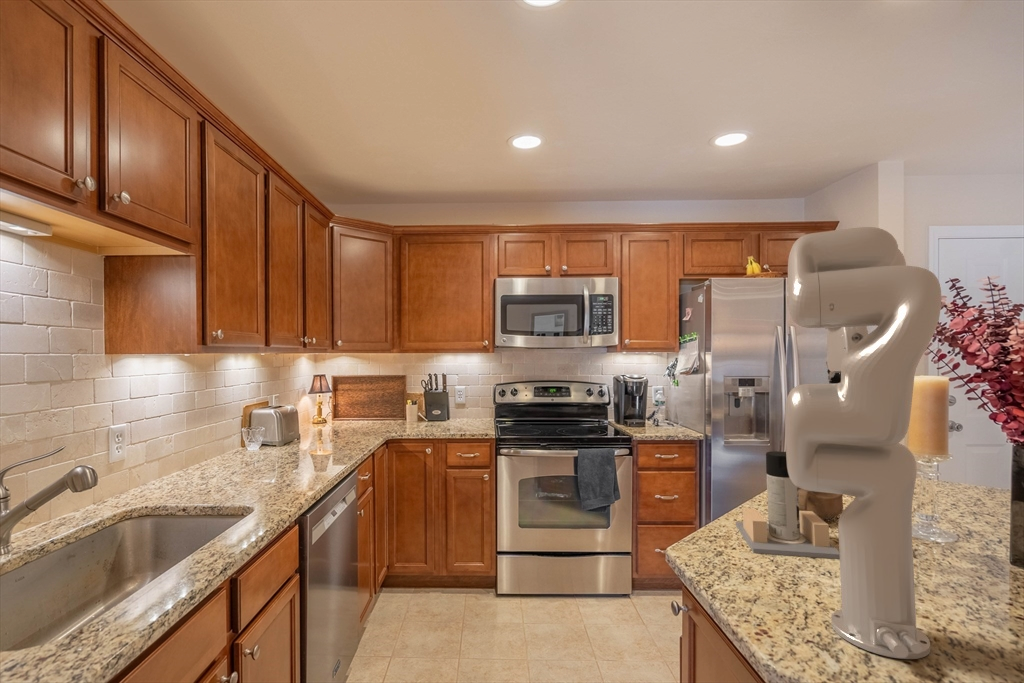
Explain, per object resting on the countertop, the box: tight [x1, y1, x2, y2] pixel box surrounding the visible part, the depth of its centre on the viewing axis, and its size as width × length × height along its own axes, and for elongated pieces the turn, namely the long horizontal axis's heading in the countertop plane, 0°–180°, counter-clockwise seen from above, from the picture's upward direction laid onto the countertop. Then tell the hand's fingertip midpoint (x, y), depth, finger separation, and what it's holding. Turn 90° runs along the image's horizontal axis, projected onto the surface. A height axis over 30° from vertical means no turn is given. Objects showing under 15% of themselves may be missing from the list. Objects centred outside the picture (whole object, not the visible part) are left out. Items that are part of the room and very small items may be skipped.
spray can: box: [765, 451, 800, 541], centre depth 116 cm, size 7×7×20 cm
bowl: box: [798, 488, 844, 521], centre depth 131 cm, size 18×14×10 cm
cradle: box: [735, 507, 840, 560], centre depth 116 cm, size 18×18×6 cm
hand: (848, 399), depth 104 cm, fingers open, 9 cm apart
